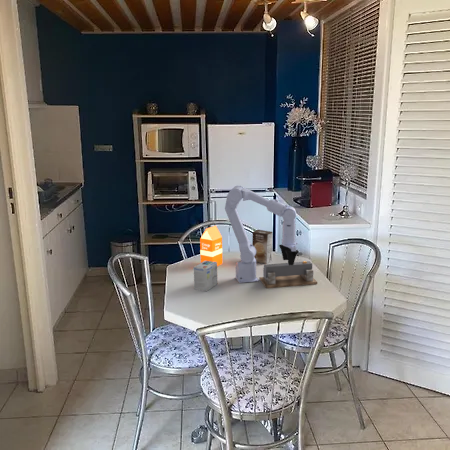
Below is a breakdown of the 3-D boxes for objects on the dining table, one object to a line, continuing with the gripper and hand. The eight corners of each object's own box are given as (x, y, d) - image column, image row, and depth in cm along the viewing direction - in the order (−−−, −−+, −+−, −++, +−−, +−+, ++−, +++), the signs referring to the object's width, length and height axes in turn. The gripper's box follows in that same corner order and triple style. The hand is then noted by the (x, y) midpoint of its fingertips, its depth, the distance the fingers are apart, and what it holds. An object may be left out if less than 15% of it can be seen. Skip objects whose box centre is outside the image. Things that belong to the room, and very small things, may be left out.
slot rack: (266, 288, 211) (266, 275, 210) (259, 279, 222) (259, 267, 221) (317, 284, 216) (317, 271, 214) (307, 275, 227) (308, 263, 226)
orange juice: (200, 265, 243) (199, 227, 239) (210, 261, 251) (210, 224, 246) (212, 268, 239) (212, 229, 235) (222, 263, 246) (222, 226, 242)
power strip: (266, 277, 214) (266, 265, 213) (263, 275, 218) (263, 263, 216) (312, 273, 219) (312, 262, 217) (309, 271, 222) (309, 260, 221)
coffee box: (251, 261, 250) (251, 231, 246) (257, 258, 255) (257, 229, 251) (267, 264, 245) (267, 234, 241) (272, 260, 250) (273, 231, 247)
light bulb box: (205, 282, 220) (204, 259, 217) (218, 284, 217) (217, 261, 214) (193, 289, 210) (193, 266, 208) (207, 292, 208) (206, 268, 205)
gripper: (303, 237, 208) (302, 266, 211) (291, 229, 221) (291, 257, 225) (287, 237, 206) (287, 267, 209) (277, 230, 220) (277, 258, 223)
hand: (288, 262), depth 217 cm, fingers open, 7 cm apart
